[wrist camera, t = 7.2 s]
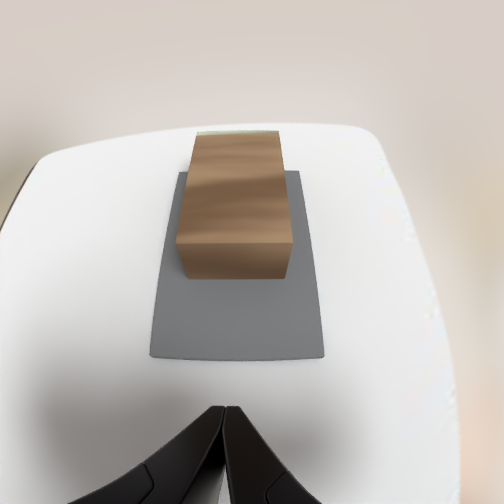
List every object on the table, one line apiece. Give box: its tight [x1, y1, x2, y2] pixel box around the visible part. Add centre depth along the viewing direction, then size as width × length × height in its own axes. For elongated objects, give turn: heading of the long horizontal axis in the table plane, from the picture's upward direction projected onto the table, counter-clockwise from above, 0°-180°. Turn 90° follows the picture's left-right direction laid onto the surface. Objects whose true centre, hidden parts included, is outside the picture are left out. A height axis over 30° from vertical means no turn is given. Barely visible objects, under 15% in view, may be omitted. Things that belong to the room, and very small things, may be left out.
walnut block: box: [176, 131, 293, 280], centre depth 19 cm, size 4×6×10 cm
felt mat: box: [150, 171, 324, 361], centre depth 20 cm, size 15×10×1 cm, turn 1°
